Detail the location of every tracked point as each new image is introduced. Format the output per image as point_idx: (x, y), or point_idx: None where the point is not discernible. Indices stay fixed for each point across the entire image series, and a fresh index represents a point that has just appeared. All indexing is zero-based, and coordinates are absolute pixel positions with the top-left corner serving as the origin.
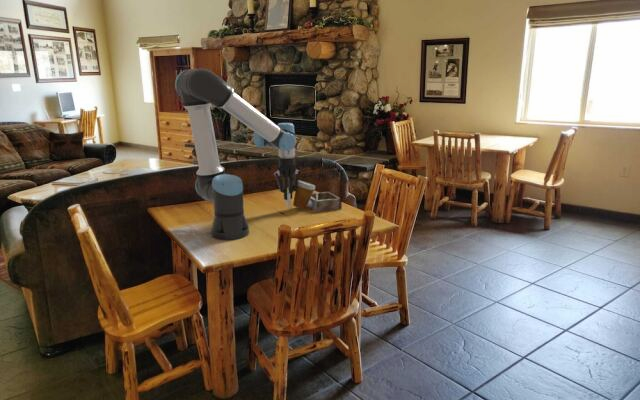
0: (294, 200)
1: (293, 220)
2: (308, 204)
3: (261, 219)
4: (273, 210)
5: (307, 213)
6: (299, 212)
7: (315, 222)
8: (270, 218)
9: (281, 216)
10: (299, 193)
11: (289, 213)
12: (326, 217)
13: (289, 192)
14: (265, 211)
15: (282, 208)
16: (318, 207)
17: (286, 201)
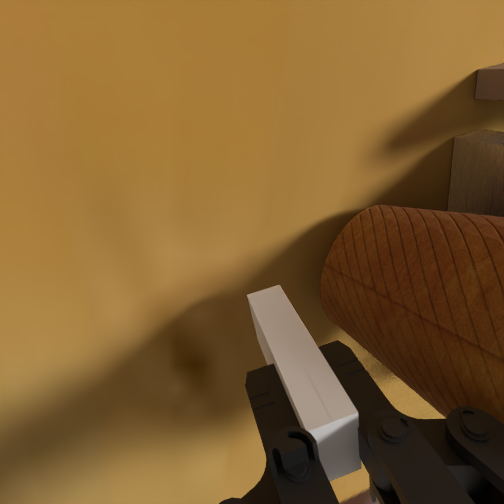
0: (360, 328)
1: (256, 478)
2: (467, 209)
3: (17, 497)
4: (99, 282)
5: (375, 360)
6: (330, 340)
7: (360, 484)
8: (93, 471)
9: (182, 427)
10: None
11: (251, 364)
12: (441, 417)
13: (360, 451)
14: (4, 313)
15: (202, 219)
16: None
17: (265, 347)
